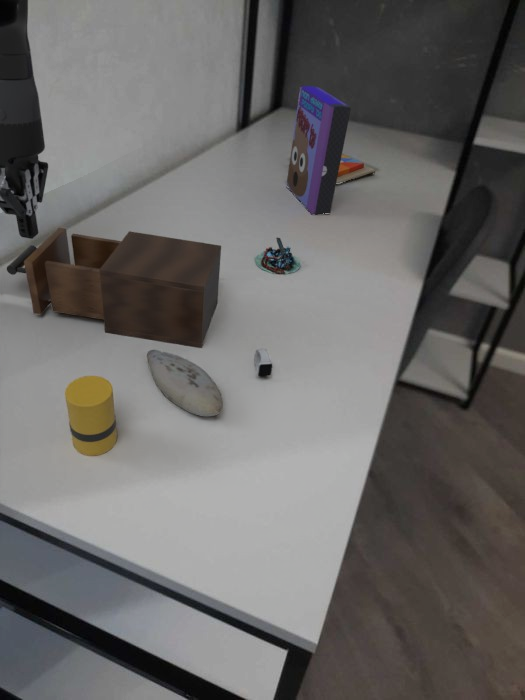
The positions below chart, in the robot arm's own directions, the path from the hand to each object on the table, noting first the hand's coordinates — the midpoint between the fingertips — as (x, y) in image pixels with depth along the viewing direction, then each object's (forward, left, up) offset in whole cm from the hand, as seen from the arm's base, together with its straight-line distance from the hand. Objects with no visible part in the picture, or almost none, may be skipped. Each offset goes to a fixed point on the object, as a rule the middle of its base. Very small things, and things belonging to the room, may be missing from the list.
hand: (29, 235), depth 77 cm
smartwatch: (+37, -10, -11) cm, 40 cm away
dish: (+36, +24, -11) cm, 45 cm away
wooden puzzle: (+46, +84, -11) cm, 97 cm away
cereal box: (+40, +59, -11) cm, 72 cm away
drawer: (+6, 0, -10) cm, 12 cm away
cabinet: (+20, 0, -11) cm, 23 cm away
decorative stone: (+27, -16, -11) cm, 34 cm away
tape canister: (+19, -27, -11) cm, 35 cm away
